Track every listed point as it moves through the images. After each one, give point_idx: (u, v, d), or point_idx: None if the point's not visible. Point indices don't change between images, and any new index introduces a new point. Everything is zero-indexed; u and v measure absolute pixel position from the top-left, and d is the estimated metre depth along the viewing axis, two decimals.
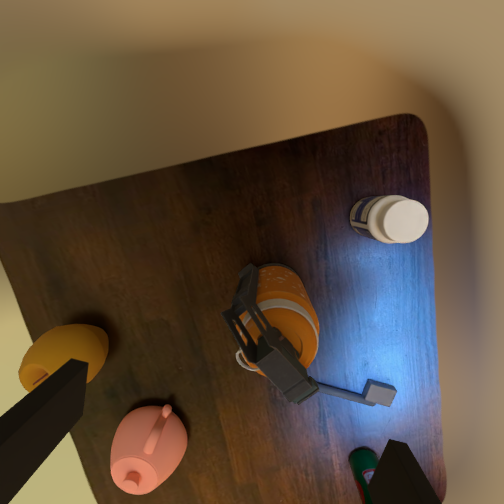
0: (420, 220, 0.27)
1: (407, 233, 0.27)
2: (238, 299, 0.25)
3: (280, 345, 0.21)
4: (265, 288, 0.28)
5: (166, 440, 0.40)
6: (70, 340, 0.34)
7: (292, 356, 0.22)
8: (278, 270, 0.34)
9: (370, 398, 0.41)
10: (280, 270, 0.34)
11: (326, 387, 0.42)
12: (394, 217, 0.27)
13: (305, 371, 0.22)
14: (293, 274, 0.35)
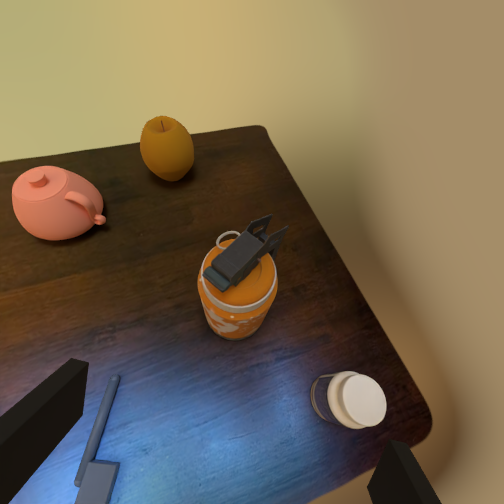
0: (371, 415, 0.25)
1: (354, 405, 0.26)
2: None
3: (258, 254, 0.23)
4: None
5: (71, 214, 0.38)
6: (189, 149, 0.45)
7: (246, 268, 0.23)
8: None
9: (90, 472, 0.28)
10: None
11: (112, 396, 0.32)
12: (363, 384, 0.27)
13: (232, 283, 0.22)
14: None
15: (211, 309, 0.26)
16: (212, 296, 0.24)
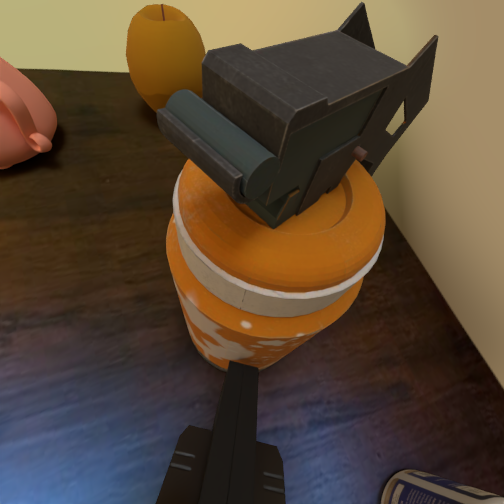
0: None
1: None
2: None
3: (371, 120, 0.07)
4: None
5: None
6: (199, 61, 0.29)
7: (327, 156, 0.06)
8: None
9: None
10: None
11: None
12: None
13: (275, 187, 0.06)
14: None
15: (190, 296, 0.09)
16: (196, 250, 0.08)
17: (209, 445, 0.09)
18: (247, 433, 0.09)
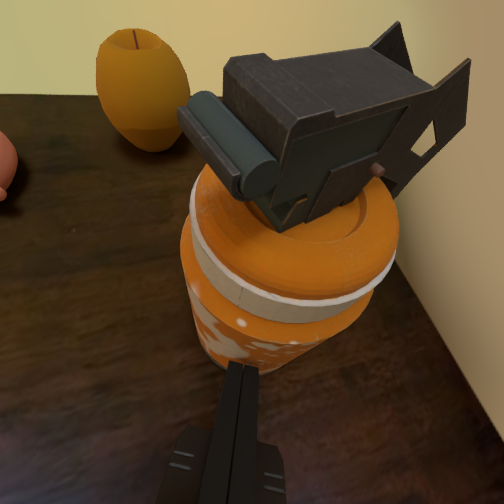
0: None
1: None
2: None
3: (391, 138, 0.07)
4: None
5: None
6: (179, 92, 0.25)
7: (339, 167, 0.07)
8: None
9: None
10: None
11: None
12: None
13: (279, 191, 0.06)
14: None
15: (194, 286, 0.10)
16: (202, 242, 0.08)
17: (208, 445, 0.09)
18: (248, 433, 0.09)
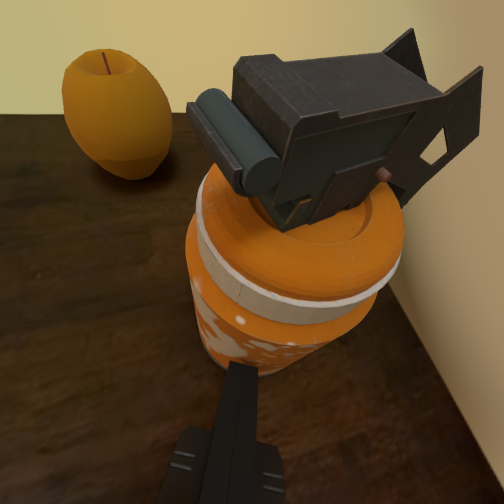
0: None
1: None
2: None
3: (399, 143, 0.07)
4: None
5: None
6: (157, 120, 0.23)
7: (344, 170, 0.07)
8: None
9: None
10: None
11: None
12: None
13: (282, 189, 0.06)
14: None
15: (196, 281, 0.10)
16: (206, 237, 0.08)
17: (209, 445, 0.09)
18: (247, 433, 0.09)
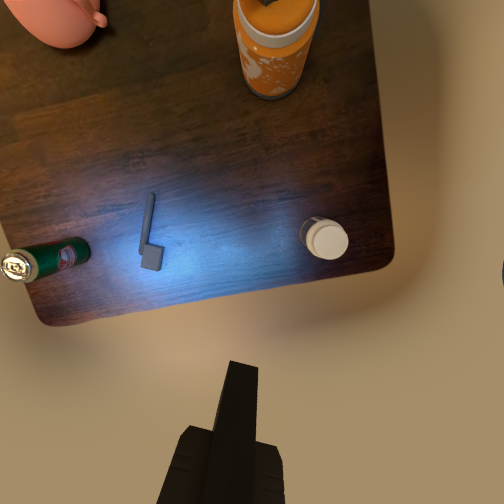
0: (331, 253, 0.34)
1: (321, 245, 0.34)
2: None
3: None
4: None
5: (67, 14, 0.33)
6: None
7: None
8: (304, 63, 0.34)
9: (146, 249, 0.44)
10: (303, 66, 0.34)
11: (151, 208, 0.43)
12: (334, 233, 0.33)
13: None
14: (293, 82, 0.35)
15: (239, 32, 0.27)
16: (241, 11, 0.24)
17: (209, 445, 0.09)
18: (247, 433, 0.09)
